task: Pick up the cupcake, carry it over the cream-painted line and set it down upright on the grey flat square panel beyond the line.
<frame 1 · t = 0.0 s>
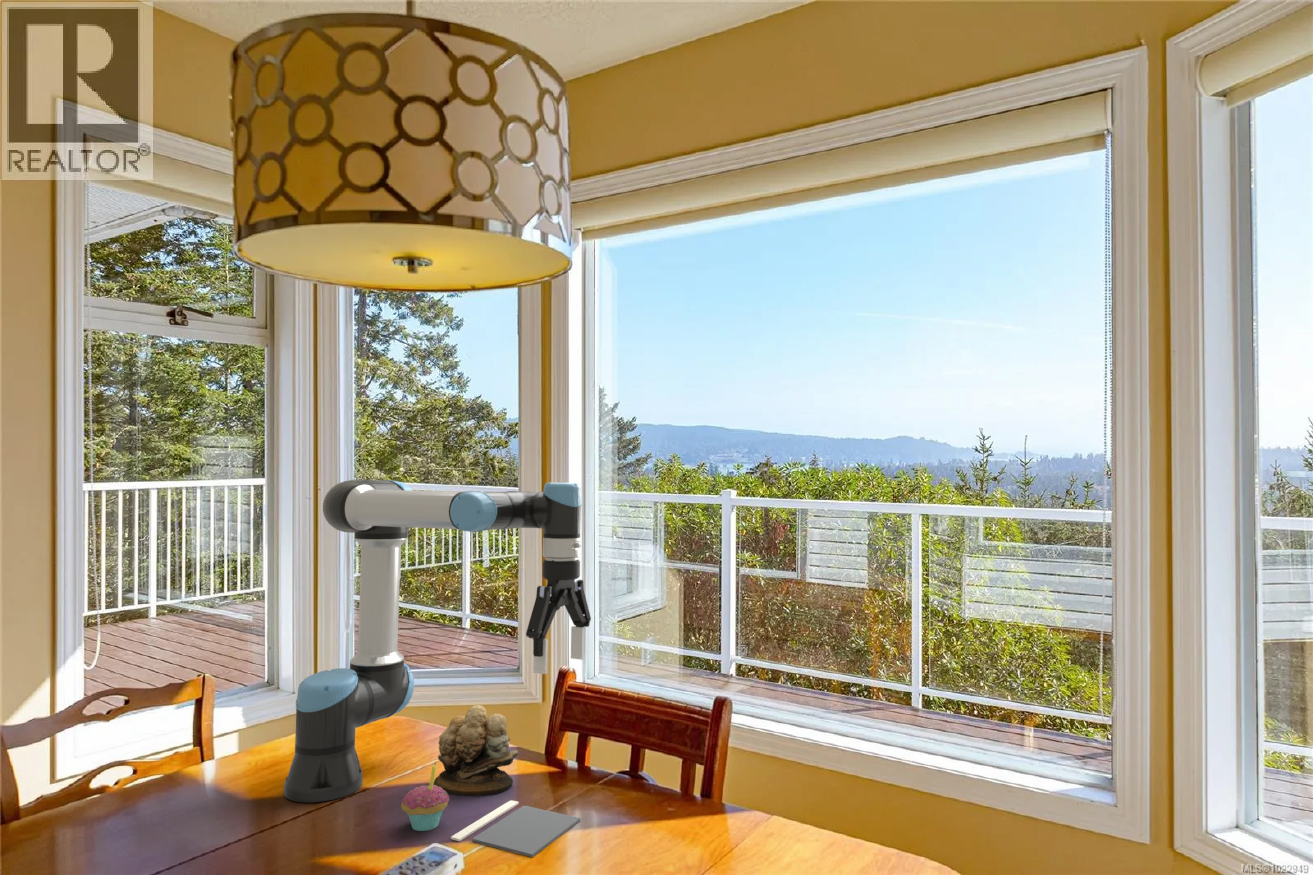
hand: (559, 665, 152), 28 cm above the table, tool pointing down, fingers open, 13 cm apart
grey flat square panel: (527, 830, 141), on the table
cupcake: (424, 827, 143), on the table
owl figurine: (475, 786, 162), on the table
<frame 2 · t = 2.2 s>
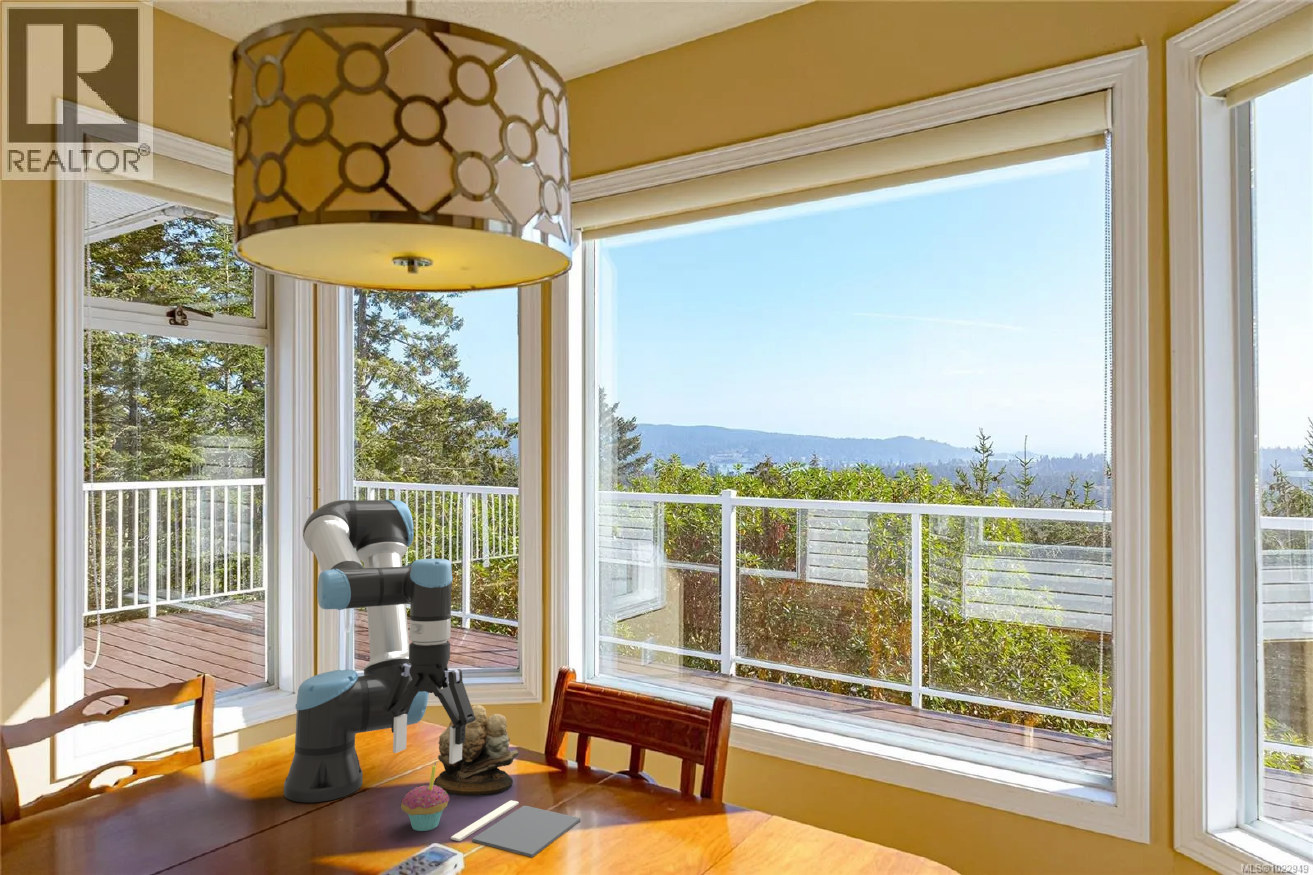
hand: (427, 756, 143), 13 cm above the table, tool pointing down, fingers open, 13 cm apart
nothing on the table moved.
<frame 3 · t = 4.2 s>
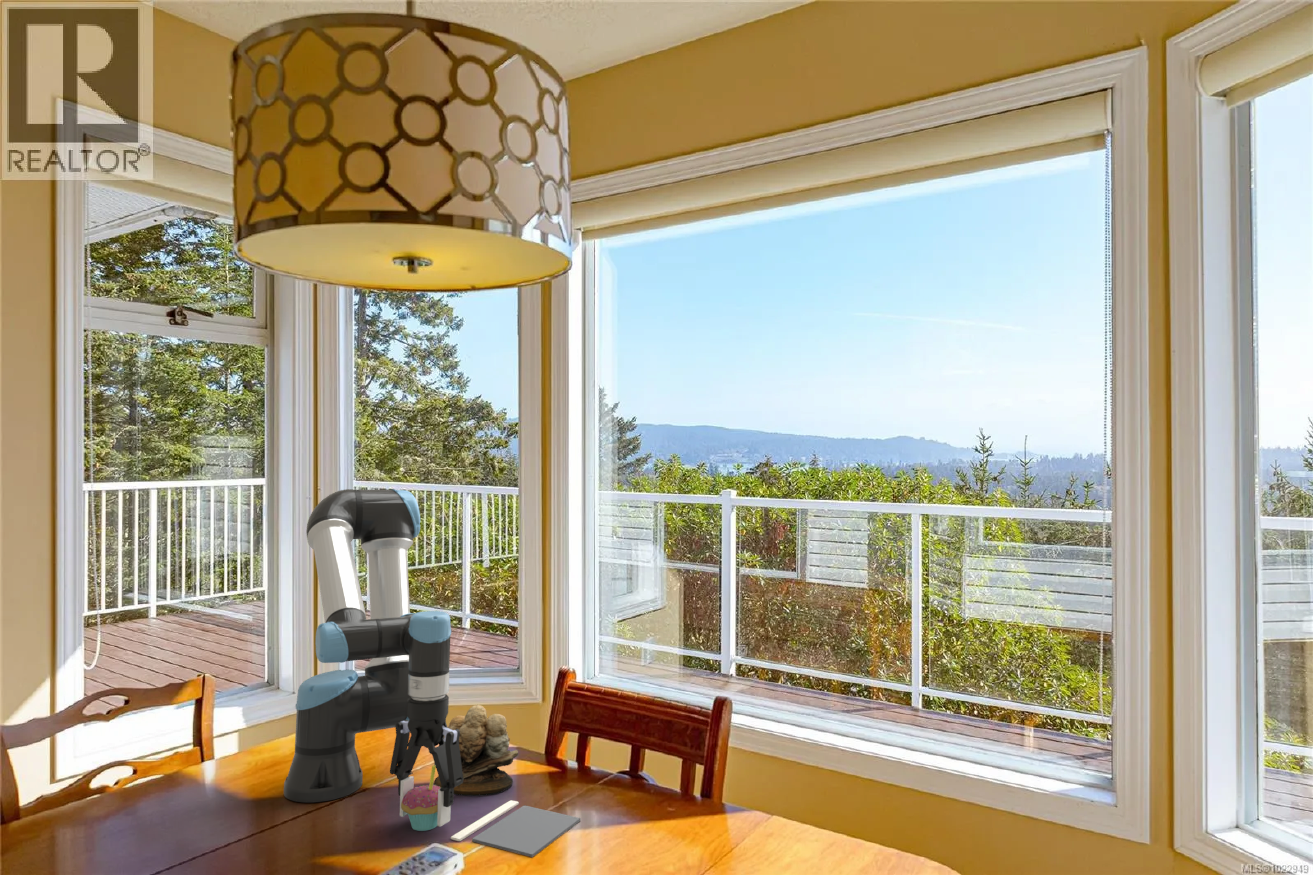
hand: (424, 818, 143), 1 cm above the table, tool pointing down, fingers closed on cupcake, 8 cm apart
cupcake: (424, 826, 143), on the table, touching gripper
everything else where it was.
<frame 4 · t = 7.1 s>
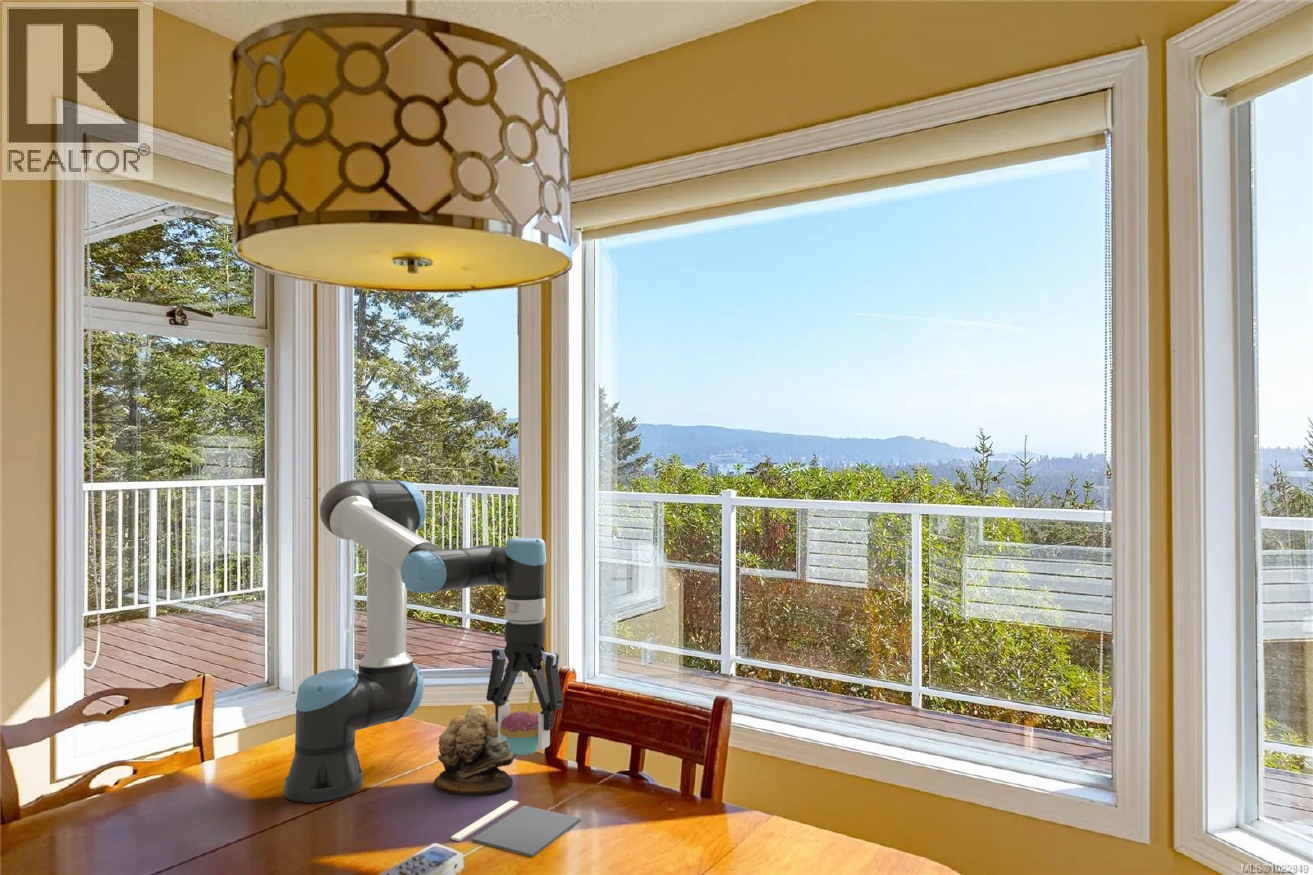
hand: (523, 743, 142), 16 cm above the table, tool pointing down, fingers closed on cupcake, 8 cm apart
cupcake: (522, 752, 141), point 14 cm above the table, touching gripper
everything else where it was.
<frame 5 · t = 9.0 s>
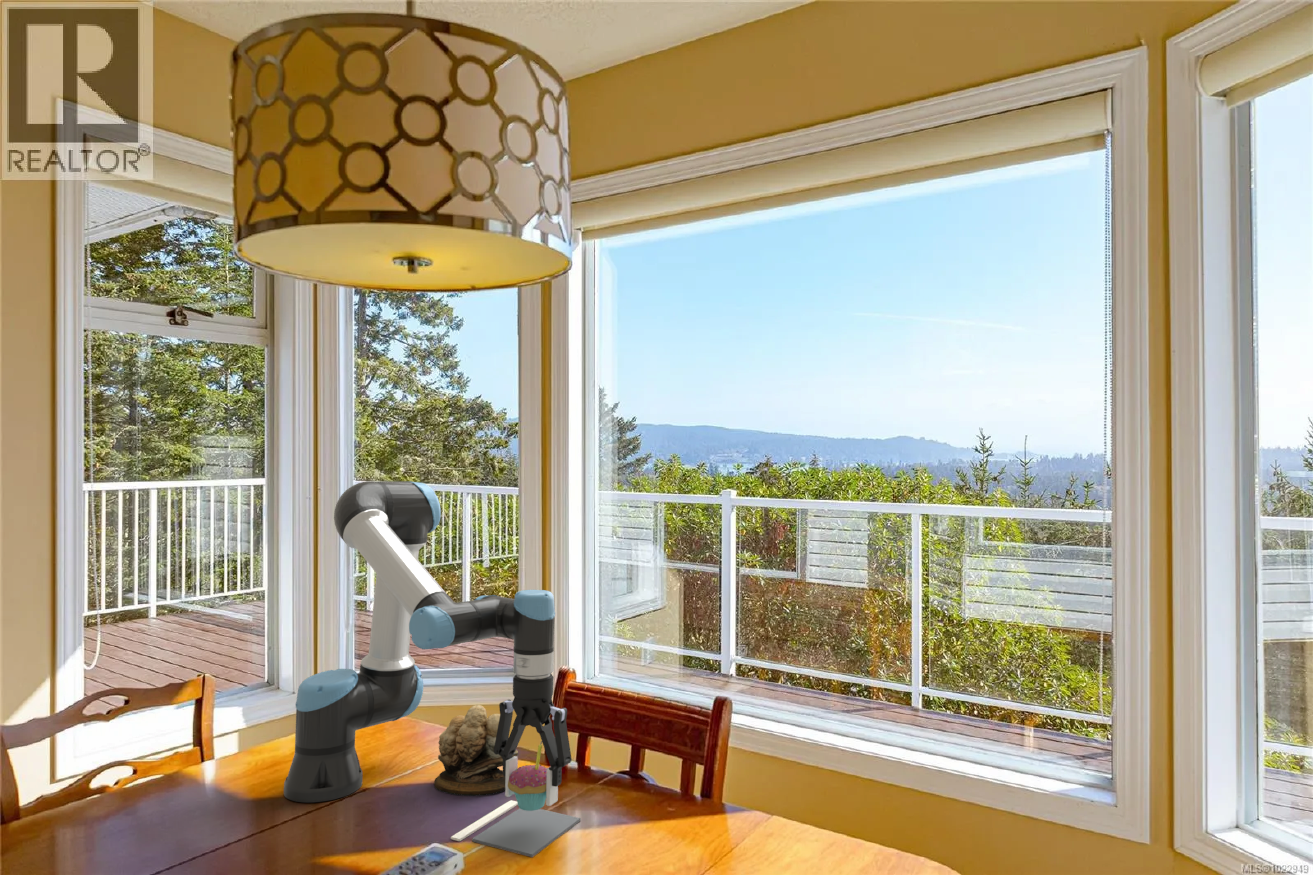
hand: (531, 798, 141), 6 cm above the table, tool pointing down, fingers closed on cupcake, 8 cm apart
cupcake: (530, 807, 141), point 4 cm above the table, touching gripper
everything else where it was.
when the fingers open (3 cm above the table, at t = 10.4 s): cupcake drops 1 cm, resting on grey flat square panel.
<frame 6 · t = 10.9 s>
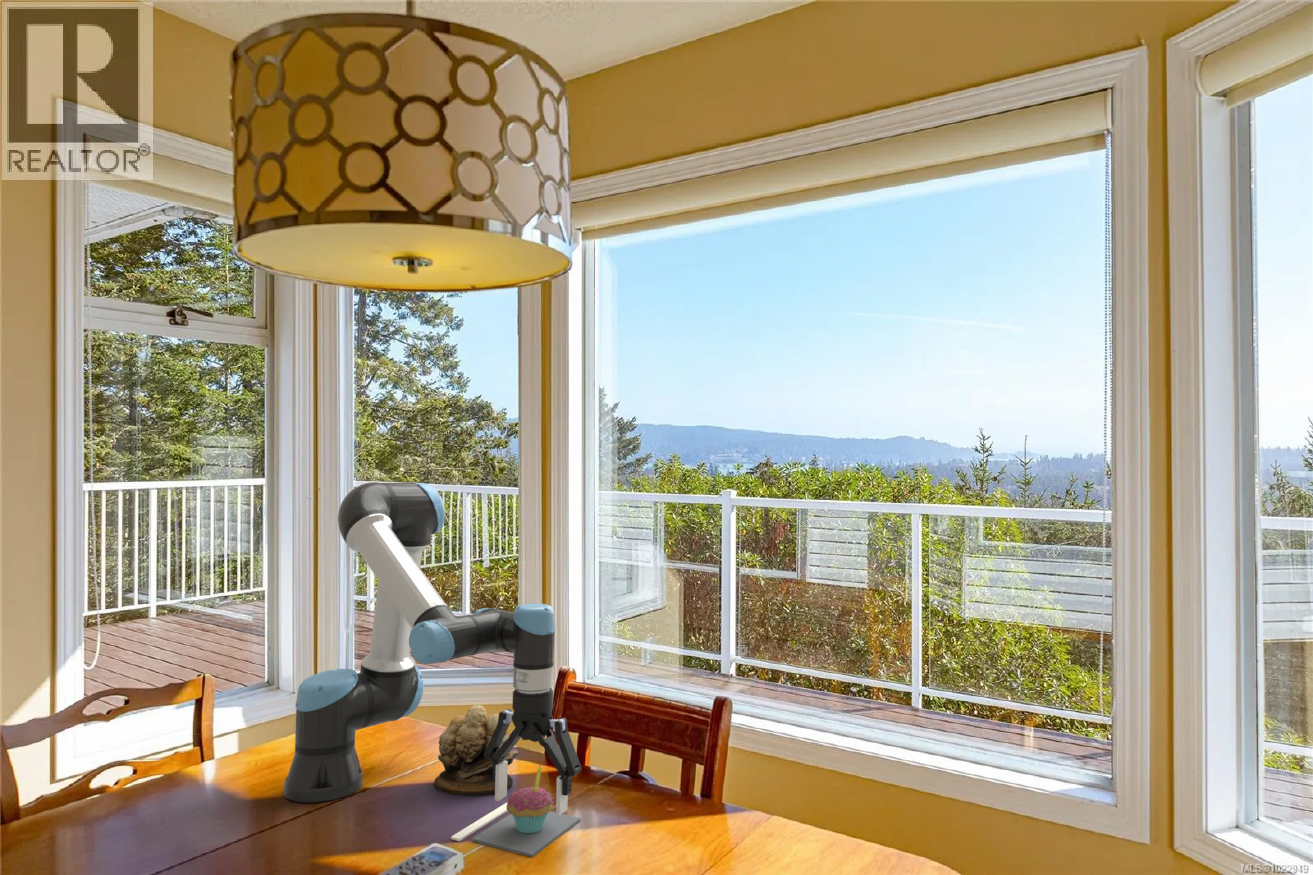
hand: (530, 805, 141), 5 cm above the table, tool pointing down, fingers open, 13 cm apart
cupcake: (529, 829, 141), resting on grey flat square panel
everything else where it was.
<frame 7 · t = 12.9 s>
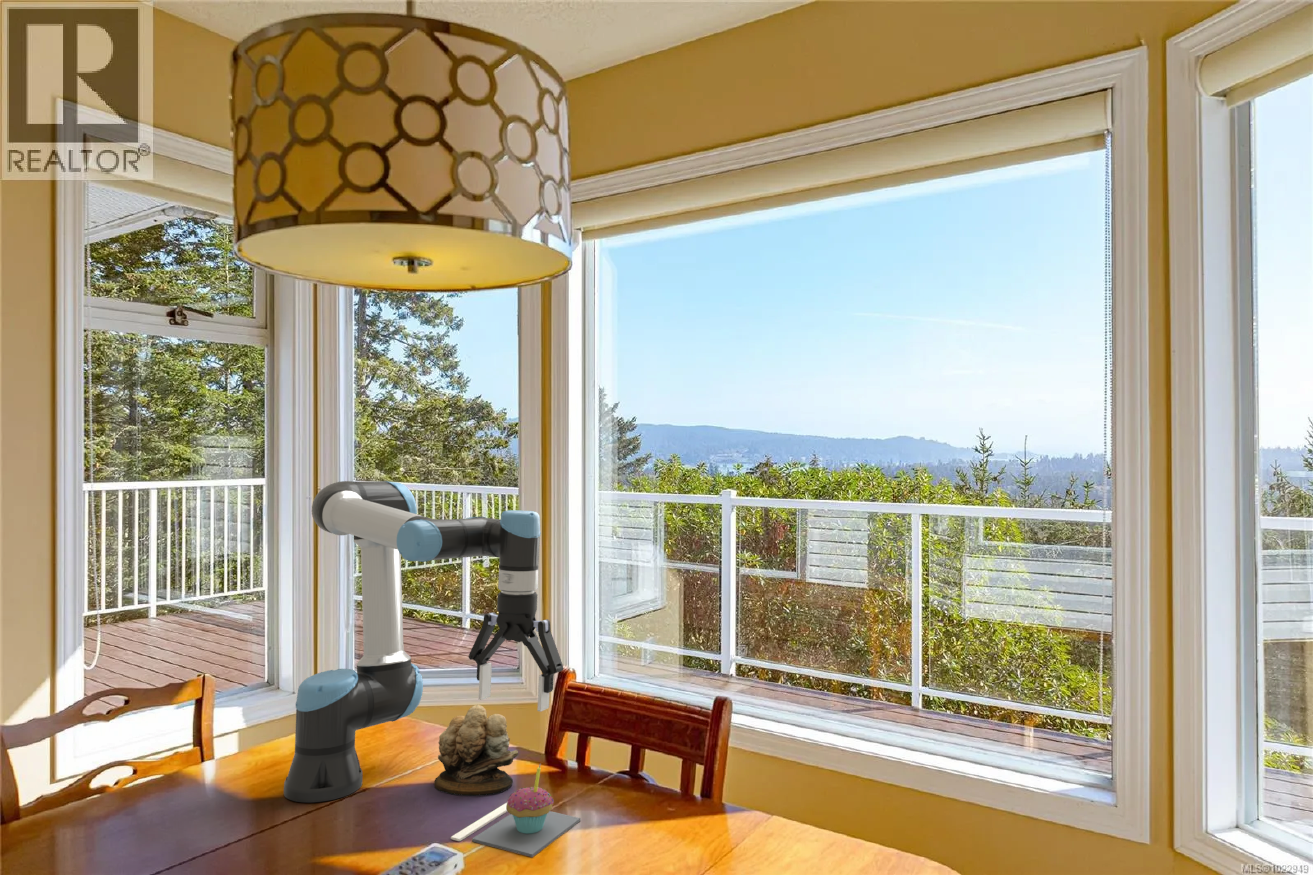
hand: (513, 703, 145), 22 cm above the table, tool pointing down, fingers open, 13 cm apart
nothing on the table moved.
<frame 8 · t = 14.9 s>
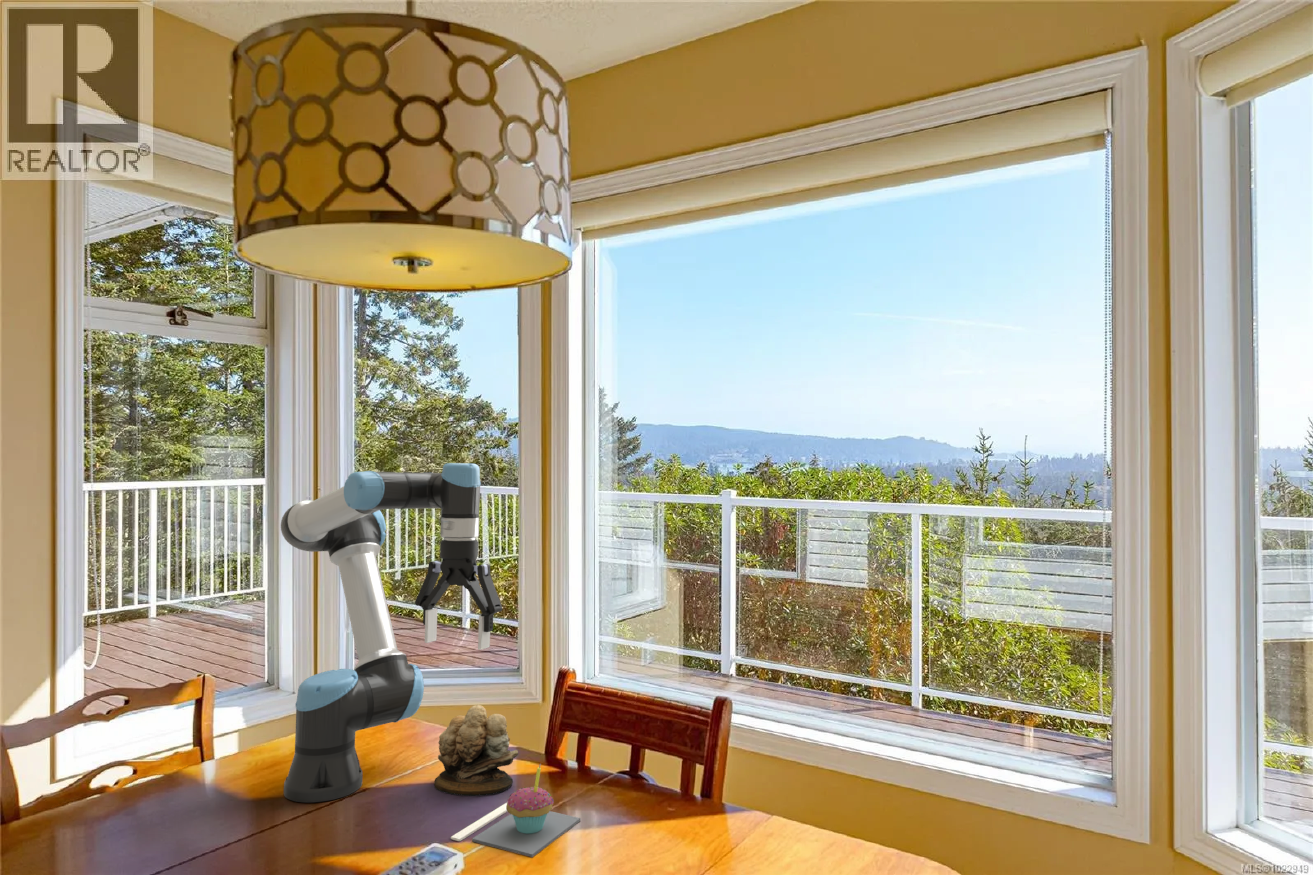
hand: (456, 645, 153), 32 cm above the table, tool pointing down, fingers open, 13 cm apart
nothing on the table moved.
at the end: cupcake inside the target area on the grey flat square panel (0.3 cm from its centre), point 0.3 cm above the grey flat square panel's base; cupcake tilted 0°; the gripper is holding nothing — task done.
